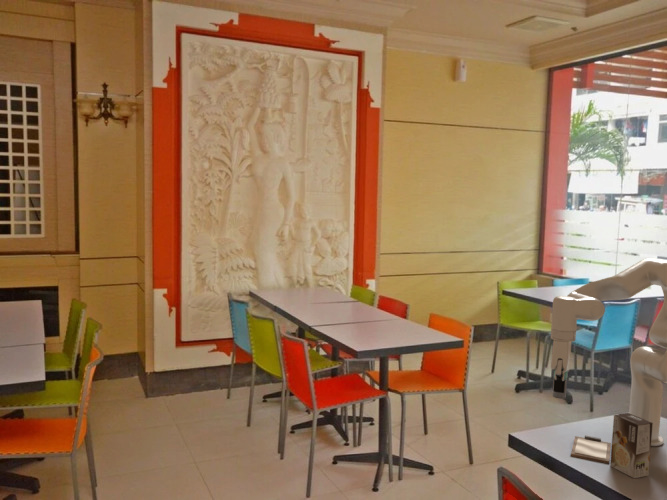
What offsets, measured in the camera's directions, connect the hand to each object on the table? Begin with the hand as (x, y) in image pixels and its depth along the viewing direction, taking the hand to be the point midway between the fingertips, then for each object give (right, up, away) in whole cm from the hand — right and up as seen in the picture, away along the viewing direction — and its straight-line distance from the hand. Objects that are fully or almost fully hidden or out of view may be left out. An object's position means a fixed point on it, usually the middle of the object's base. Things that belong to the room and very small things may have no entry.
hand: (559, 389), depth 199 cm
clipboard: (+9, -19, -2) cm, 21 cm away
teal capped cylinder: (0, -2, 0) cm, 2 cm away
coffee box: (+15, -21, -16) cm, 30 cm away
